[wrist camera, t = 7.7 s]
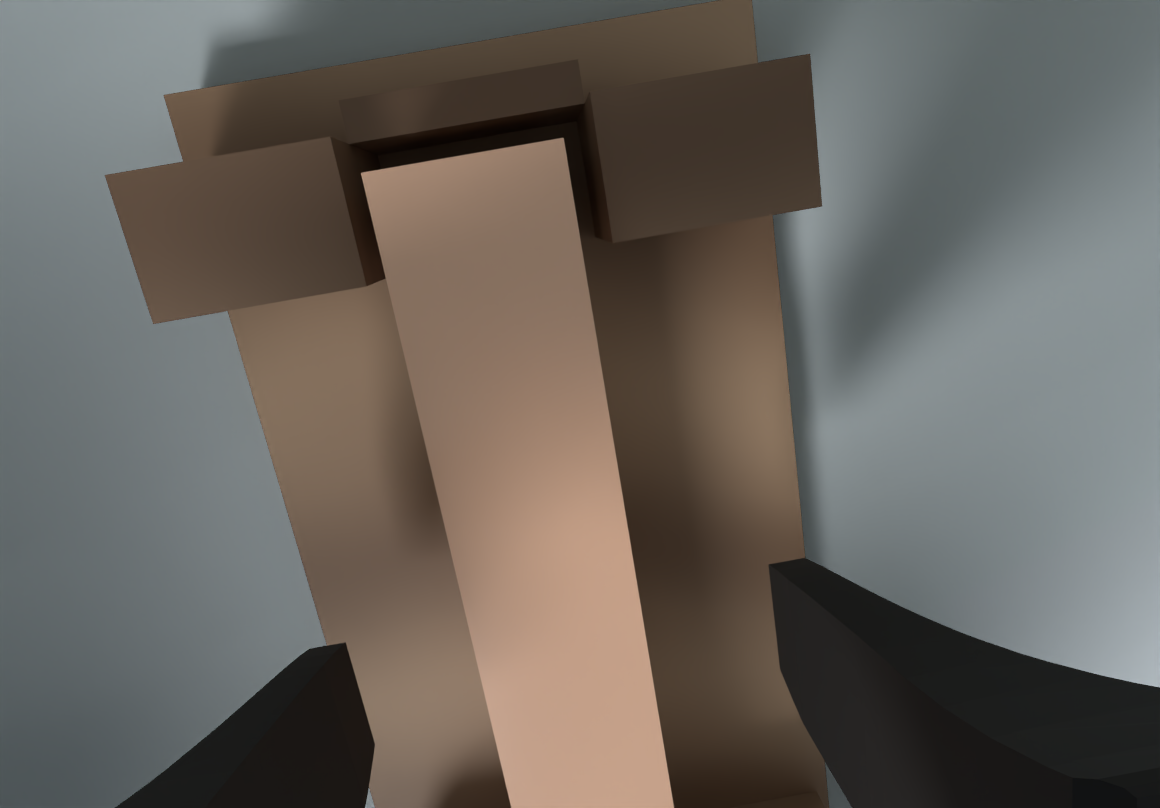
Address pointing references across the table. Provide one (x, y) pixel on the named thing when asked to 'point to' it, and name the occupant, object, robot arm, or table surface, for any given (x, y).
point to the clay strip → (525, 467)
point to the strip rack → (625, 341)
